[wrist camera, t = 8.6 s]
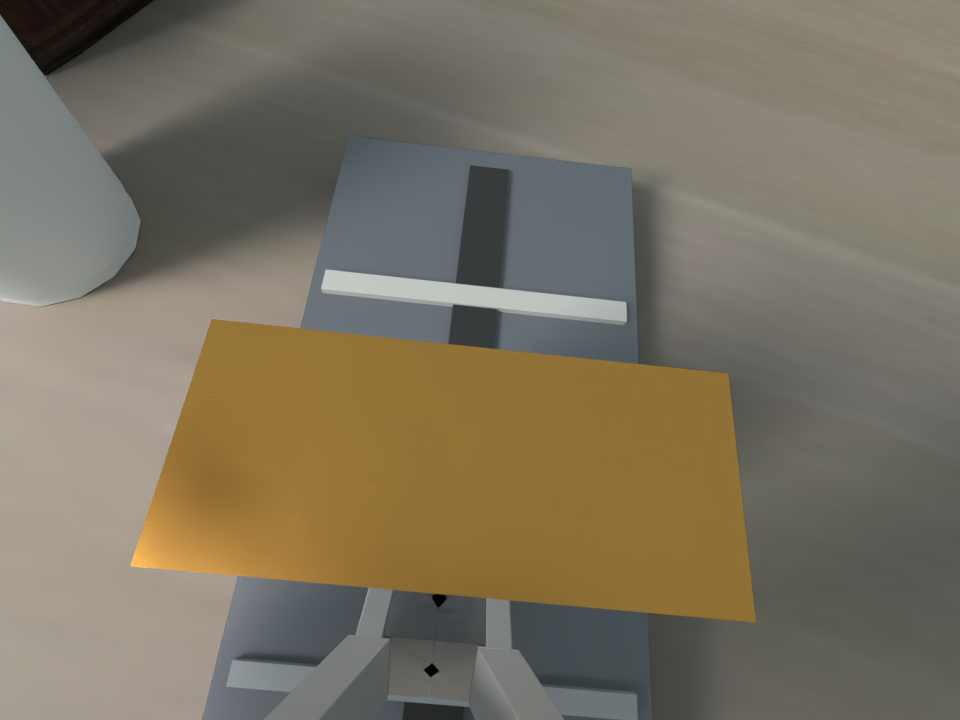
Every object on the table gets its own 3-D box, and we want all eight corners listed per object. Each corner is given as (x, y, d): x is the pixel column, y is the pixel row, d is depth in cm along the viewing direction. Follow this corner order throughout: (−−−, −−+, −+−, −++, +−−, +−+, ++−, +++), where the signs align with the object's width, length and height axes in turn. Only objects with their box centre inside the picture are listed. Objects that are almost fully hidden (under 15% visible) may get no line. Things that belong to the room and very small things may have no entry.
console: (629, 894, 13) (666, 969, 10) (196, 862, 12) (142, 933, 10) (615, 200, 21) (634, 163, 19) (357, 171, 21) (346, 129, 19)
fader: (569, 564, 13) (756, 623, 5) (328, 541, 13) (129, 566, 5) (570, 460, 14) (728, 373, 6) (348, 438, 14) (211, 319, 6)
